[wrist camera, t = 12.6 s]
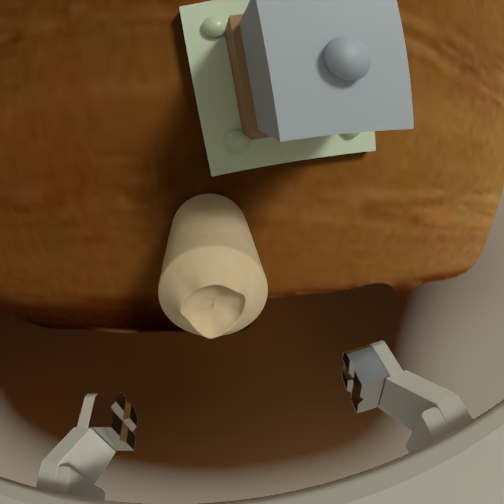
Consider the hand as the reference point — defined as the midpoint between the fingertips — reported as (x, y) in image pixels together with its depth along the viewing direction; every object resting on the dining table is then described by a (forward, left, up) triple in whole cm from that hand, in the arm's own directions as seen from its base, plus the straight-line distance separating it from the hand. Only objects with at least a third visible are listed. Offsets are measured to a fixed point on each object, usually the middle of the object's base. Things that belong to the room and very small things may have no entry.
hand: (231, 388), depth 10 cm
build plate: (+7, +10, -14) cm, 19 cm away
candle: (0, 0, -15) cm, 15 cm away
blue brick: (+7, +10, -9) cm, 15 cm away
